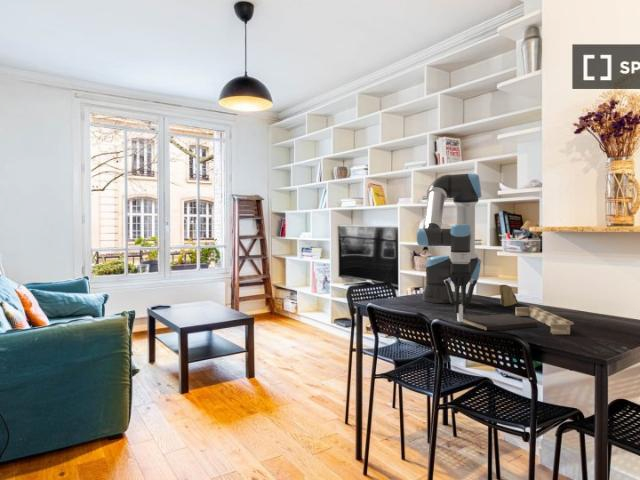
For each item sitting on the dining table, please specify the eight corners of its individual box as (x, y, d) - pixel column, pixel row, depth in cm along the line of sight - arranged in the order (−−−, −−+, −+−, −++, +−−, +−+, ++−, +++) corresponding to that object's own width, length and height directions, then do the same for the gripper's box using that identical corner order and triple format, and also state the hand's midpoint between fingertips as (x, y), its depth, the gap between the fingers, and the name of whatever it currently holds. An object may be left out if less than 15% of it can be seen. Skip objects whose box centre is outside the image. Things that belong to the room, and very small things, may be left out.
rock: (514, 297, 217) (494, 294, 217) (520, 285, 212) (501, 283, 212) (520, 313, 209) (500, 311, 209) (527, 301, 203) (507, 299, 203)
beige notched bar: (515, 315, 186) (515, 305, 186) (532, 315, 186) (533, 305, 186) (552, 334, 155) (552, 322, 155) (573, 334, 155) (573, 322, 155)
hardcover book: (461, 322, 176) (461, 317, 176) (508, 319, 182) (508, 313, 182) (487, 332, 160) (487, 326, 160) (537, 327, 167) (537, 322, 167)
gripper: (446, 263, 167) (446, 323, 168) (480, 263, 167) (479, 323, 168) (441, 261, 174) (441, 318, 176) (473, 261, 174) (473, 318, 175)
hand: (459, 321), depth 172 cm, fingers closed
